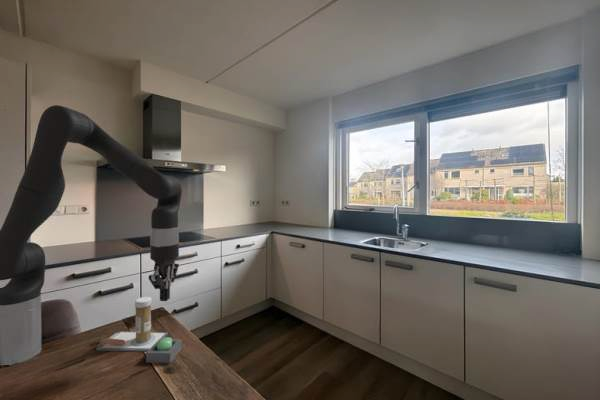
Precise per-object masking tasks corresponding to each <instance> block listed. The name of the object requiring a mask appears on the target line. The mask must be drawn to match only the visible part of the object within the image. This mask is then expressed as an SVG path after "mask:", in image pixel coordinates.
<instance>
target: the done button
mask: <svg viewBox="0 0 600 400" xmlns="http://www.w3.org/2000/svg"><path fill="white" fill-rule="evenodd" d="M172 339H173V338H172V337H169V336H165V337H164V338H162V339H160V340H158V342H157V350H160V351H168V350H169V349H170V348H171V347H172Z"/></svg>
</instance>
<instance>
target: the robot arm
mask: <svg viewBox="0 0 600 400" xmlns="http://www.w3.org/2000/svg"><path fill="white" fill-rule="evenodd" d="M38 121H39V122H38V125H37V129H36V133H35V137H34V142H33V145H32V149H31V153H30V154H29V159H28V161H27V165H26V167H25V170H24V172H23V175H22V177H21V180H20V181H19V183H18V185H17V189H16V191H15V193H14V197H13V199H12V203H11V205H10V207H9V210H8V212H7V215H6V217H5V219H4V221H3V223H2V226H1V228H0V281H6V280H7V281H8V280H9V281H8V282H7V283H6V284H5V285H4V286H3V287H2V288H0V365H1V366H0V367H4V366H3V365H9V366H13V365H17V364H20V363H23V362H26V361H28V360H30V359H32V358H34V357H35V356H37V355H39V354H40V353H41V351H42V350H43V349H42V288H43V287H44V284H45V276H46V275H45V272H46V255H45V251H44V249H43V248H42V246H41V245H40V244H38V243H36V242H29V239H30V238H31V236H32V234H33V233H35V232H36V231H37V229H38V228H40V226H41V225H43V224H44V223H45V222H46V221H47V220H48V219H49V218H50V217H51V216H52V215H53V214H54V213H55V212H56V210H57V209H58V207H59V205H60V203H61V201H62V198H63V196H64V192H65V190H66V181H65V180H66V179H65V175H64V172H63V166H62V157H63V154H64V151H65V149H66V146H67V144H68V143H72V144H79V145H81V146H84V147H86V148H88V149H90V150H92V151H94V152H96V153H97V154H99V155H100V156H102V158H103V159H104V160H105V161H106V162H107V164H108V165H109V166H110V167H112V168H113V169H114V170H115V171H116V172H118V173H120V174H121V175H123V176H124V177H126V178H128V179H129V180H131V182H133V183H135V184H136V185H137V186H138V187H139V188H140V189H141V190H142V191H143V192H144V193H146V194H147V195H148V196H149V197H152V198H154V199H156V200H157V203H156V204H157V205H156V207H155V208H153V209H152V211H151V216H150V217H151V218H150V219H151V222H150V223H151V224H150V226H151V228H150V229H151V231H150V237H149V238H150V239H149V240H150V241H149V242H150V243H149V244H150V245H149V246H150V252H149V253H150V255H149V257H150V260H151V261H153V262H154V266H153V270H154V271H153V273H152V274H150V275H148V280H149V281H150V284H151V285H152V286H153V288H154V289H155V290H159V301H160V302H167V301H168V300H169V299H171V291H170V290H171V287H172V283H174V282H175V279H176V276H177V273H178V271H179V270H178V269H179V265H180V264H179V263H176V262H175V261H176V259H178V258H179V255H180V235H179V234H180V233H179V232H180V231H179V214H178V213H179V210H180V209H179V208H180V206H181V200H182V196H183V195H182V194H183V189H182V187H183V186H182V184H181V181H180V180H179V179H178V178H177V177H175V176H173V175H166V174H163V173H161V172H159V171H158V170H156V169H155V168H154V165H152V164H151V162H149V161H147V160H146V159H144V158H143V157H141V156H140V155H139V154H137V153H135V152H134V151H132V150H131V149H129V148H128V147H126V146H125V145H123V144H121V143H120V142H119V141H117V140H116V139H114V138H113V137H112V136H111V135H110V134H108V133H107V132H106V131H105V130H104V129H103V128H102V127H101V126H99V125H98V124H97V123H96V122H95V121H94V120H92V118H90V117H89V116H88V115H86V113H85V114H84V113H82V112H81V111H77V110H76V109H75V110H74V109H72V108H69V107H67V106H62V105H58V104H56V105H52V106H49V107H47V108H46V109H44V111H43V112H42V114H41V116H40V117H39V120H38Z"/></svg>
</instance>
